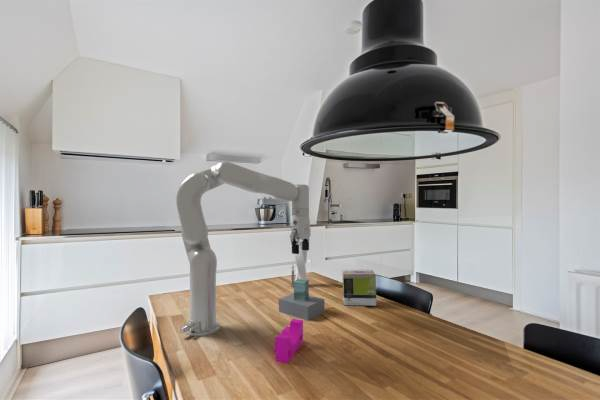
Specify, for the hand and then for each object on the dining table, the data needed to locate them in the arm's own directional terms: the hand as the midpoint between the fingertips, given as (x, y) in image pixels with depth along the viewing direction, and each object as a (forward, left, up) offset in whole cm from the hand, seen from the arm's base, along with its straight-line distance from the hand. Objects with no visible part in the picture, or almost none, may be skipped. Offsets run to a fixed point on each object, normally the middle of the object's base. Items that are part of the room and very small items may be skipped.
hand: (300, 251), depth 135 cm
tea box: (+23, -19, -26) cm, 40 cm away
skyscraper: (+39, +20, -27) cm, 51 cm away
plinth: (0, 0, -27) cm, 27 cm away
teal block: (0, 0, -21) cm, 21 cm away
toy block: (-32, -11, -27) cm, 43 cm away
